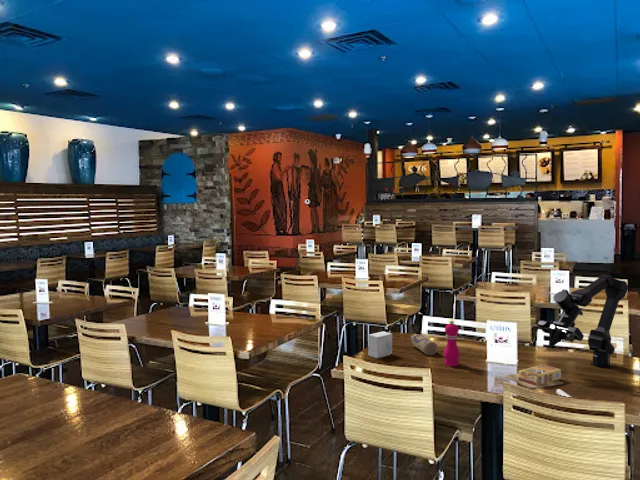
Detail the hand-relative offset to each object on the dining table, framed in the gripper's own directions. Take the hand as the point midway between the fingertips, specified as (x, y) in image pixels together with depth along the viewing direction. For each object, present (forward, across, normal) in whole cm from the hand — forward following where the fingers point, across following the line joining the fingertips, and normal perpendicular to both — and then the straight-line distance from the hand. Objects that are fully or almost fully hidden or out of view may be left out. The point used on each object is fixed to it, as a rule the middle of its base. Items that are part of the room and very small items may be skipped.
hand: (550, 346), depth 221 cm
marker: (+21, -22, +2) cm, 31 cm away
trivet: (+15, +2, -3) cm, 16 cm away
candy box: (+7, 0, -8) cm, 11 cm away
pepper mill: (+25, +35, +6) cm, 43 cm away
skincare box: (+38, +64, +20) cm, 77 cm away
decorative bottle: (+21, +62, +2) cm, 65 cm away
